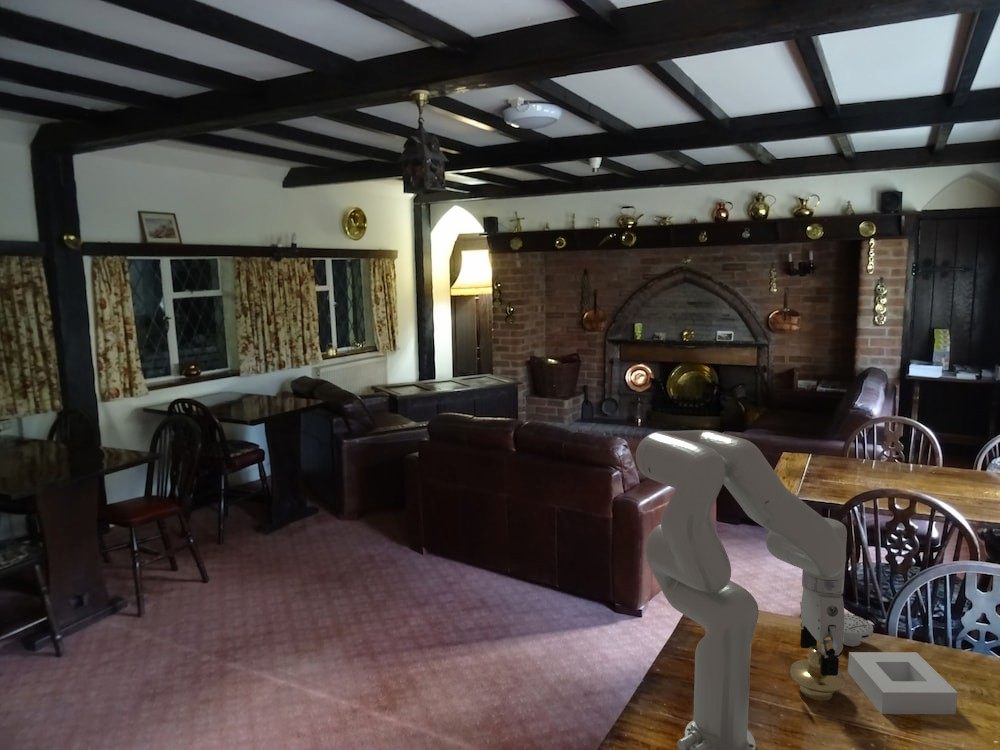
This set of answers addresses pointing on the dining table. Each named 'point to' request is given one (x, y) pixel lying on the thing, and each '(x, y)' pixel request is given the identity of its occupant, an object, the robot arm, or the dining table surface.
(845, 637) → the showerhead
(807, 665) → the end cover
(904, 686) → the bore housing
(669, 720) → the dining table surface
